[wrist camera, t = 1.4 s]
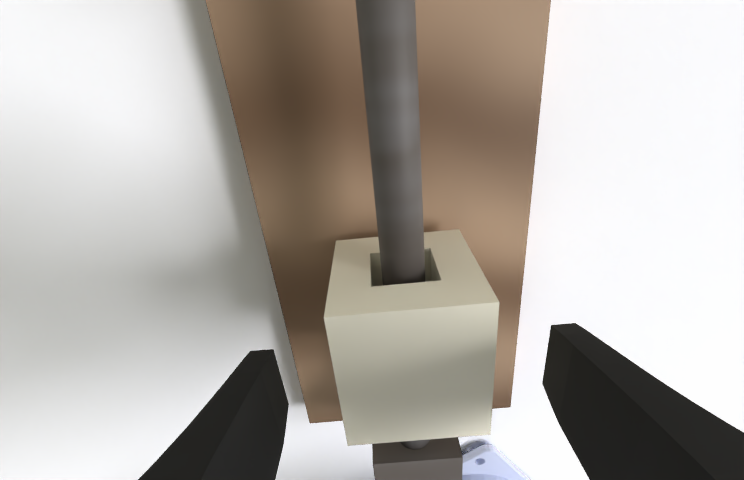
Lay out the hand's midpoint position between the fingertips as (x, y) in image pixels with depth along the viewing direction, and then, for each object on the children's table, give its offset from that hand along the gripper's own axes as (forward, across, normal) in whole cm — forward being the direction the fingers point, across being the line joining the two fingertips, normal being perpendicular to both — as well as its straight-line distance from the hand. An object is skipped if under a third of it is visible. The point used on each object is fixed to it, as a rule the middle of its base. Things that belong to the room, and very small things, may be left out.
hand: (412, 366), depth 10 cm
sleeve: (+4, 0, 0) cm, 4 cm away
